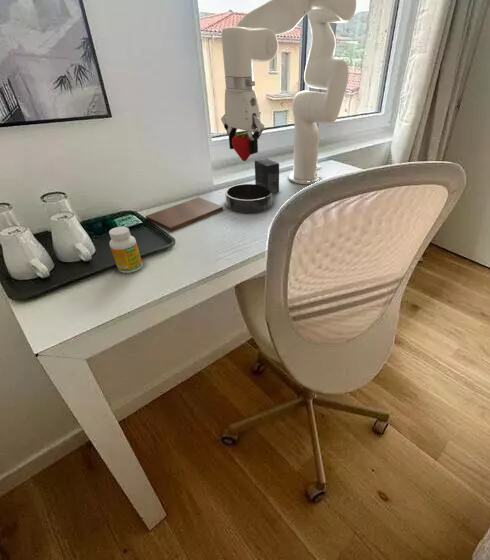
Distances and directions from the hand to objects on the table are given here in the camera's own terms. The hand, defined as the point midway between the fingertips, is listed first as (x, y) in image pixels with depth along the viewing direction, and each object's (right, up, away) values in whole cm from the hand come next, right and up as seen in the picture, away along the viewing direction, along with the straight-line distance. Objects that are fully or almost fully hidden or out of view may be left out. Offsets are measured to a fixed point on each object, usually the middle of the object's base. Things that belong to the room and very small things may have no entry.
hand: (243, 150), depth 98 cm
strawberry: (0, -3, +2) cm, 3 cm away
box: (+5, -6, +22) cm, 23 cm away
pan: (0, -14, +11) cm, 18 cm away
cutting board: (-18, -19, +2) cm, 27 cm away
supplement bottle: (-23, -37, -22) cm, 49 cm away
